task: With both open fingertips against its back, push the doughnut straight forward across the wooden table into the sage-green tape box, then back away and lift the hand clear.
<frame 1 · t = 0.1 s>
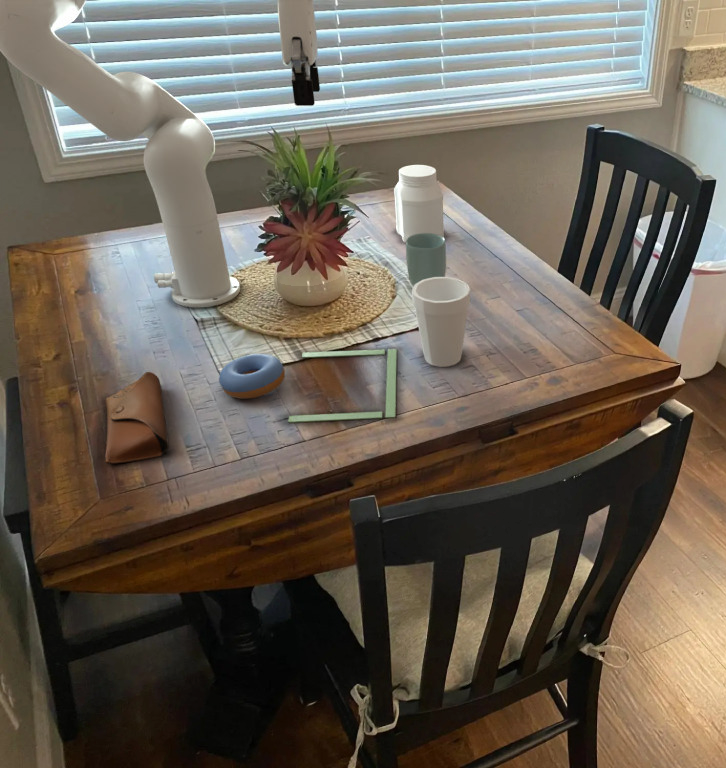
hand: (307, 98, 129), 37 cm above the table, tool pointing down, fingers open, 9 cm apart
sunglasses case: (136, 426, 112), on the table
foam cup: (443, 357, 130), on the table
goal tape: (340, 383, 122), on the table
cup: (427, 287, 152), on the table
jar: (420, 235, 174), on the table
doughnut: (254, 388, 121), on the table
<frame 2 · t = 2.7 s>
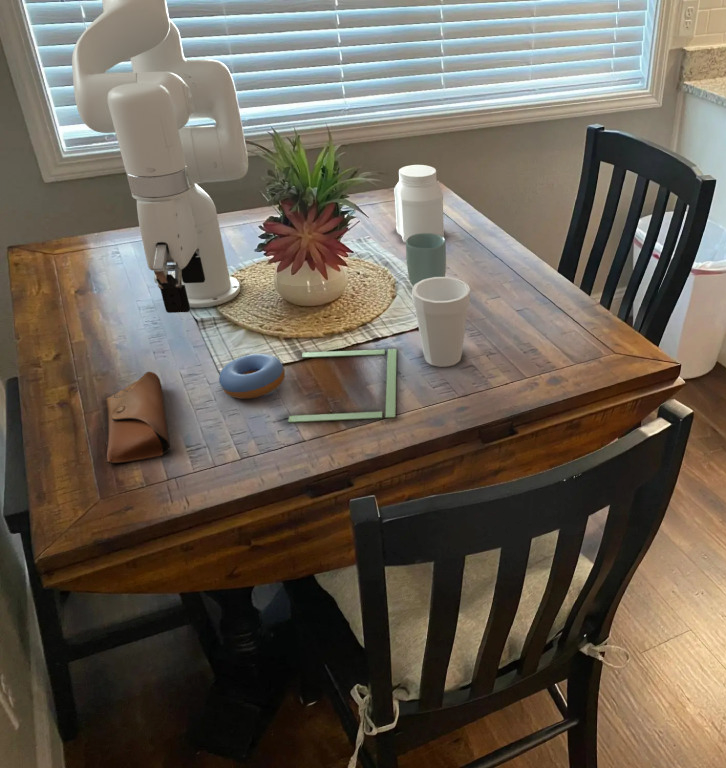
hand: (186, 296, 111), 17 cm above the table, tool pointing down, fingers open, 9 cm apart
nothing on the table moved.
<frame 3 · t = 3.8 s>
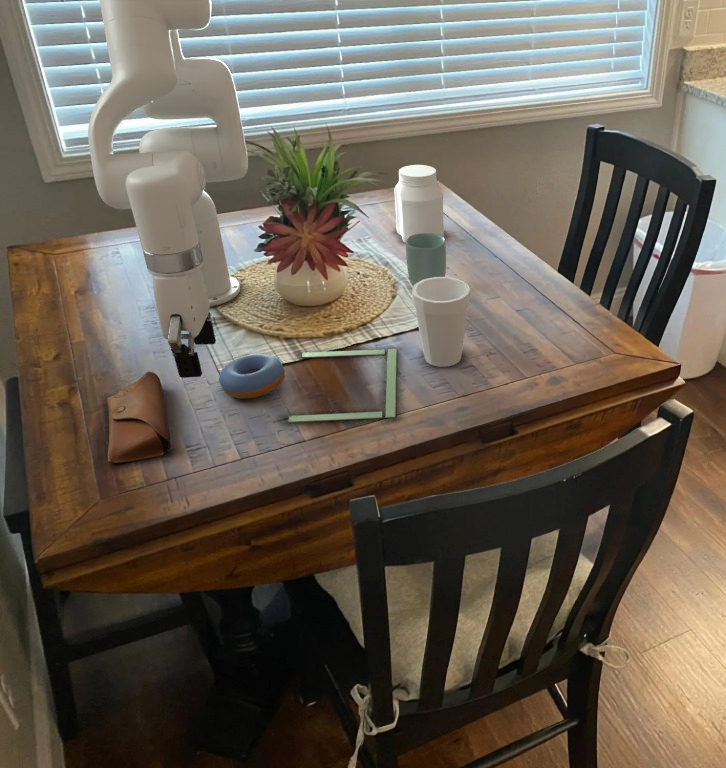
hand: (198, 359, 116), 6 cm above the table, tool pointing down, fingers open, 9 cm apart
nothing on the table moved.
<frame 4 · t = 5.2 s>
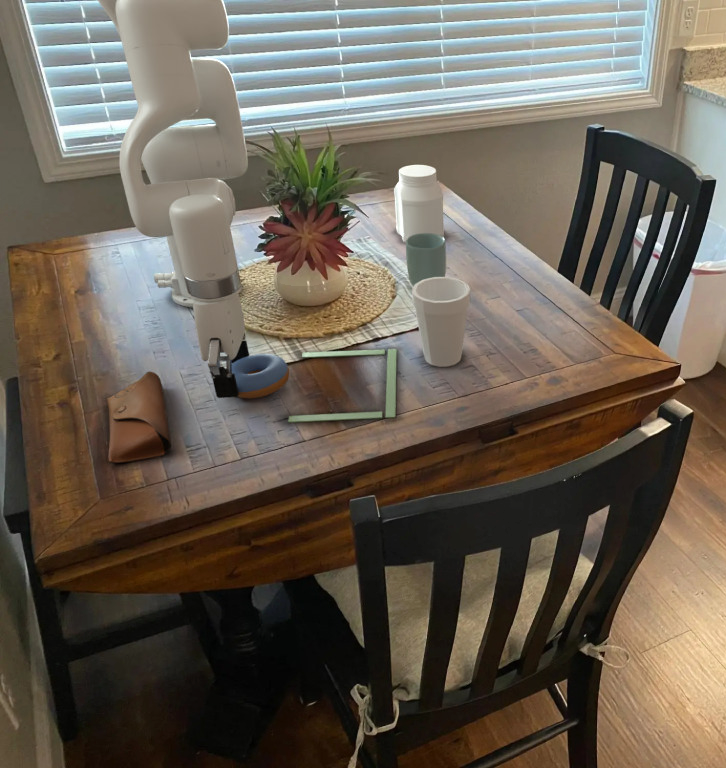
hand: (234, 378, 119), 2 cm above the table, tool pointing down
doughnut: (259, 388, 121), on the table, touching gripper
everything else where it was.
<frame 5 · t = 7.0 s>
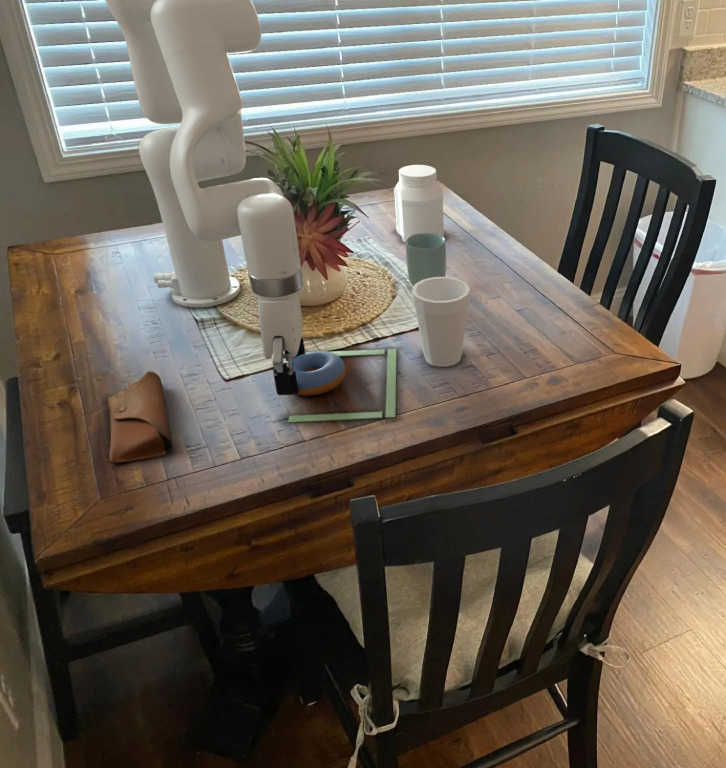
hand: (292, 376, 121), 2 cm above the table, tool pointing down
doughnut: (316, 385, 122), on the table, touching gripper
everything else where it was.
when the fingers open (2 cm above the table, at t = 8.8 s): doughnut stays where it is, on the table.
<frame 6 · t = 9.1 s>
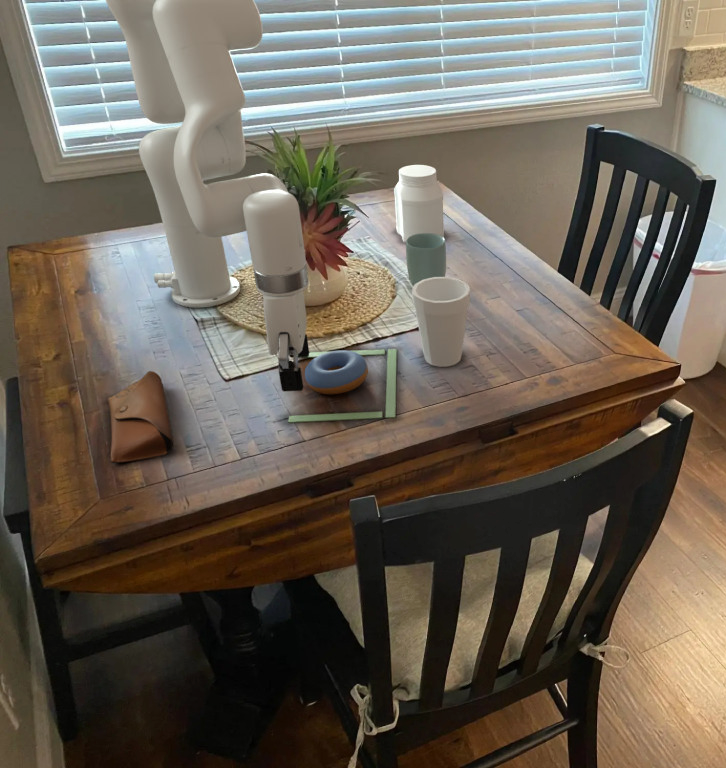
hand: (296, 372, 121), 2 cm above the table, tool pointing down, fingers open, 9 cm apart
doughnut: (338, 384, 122), on the table
everything else where it was.
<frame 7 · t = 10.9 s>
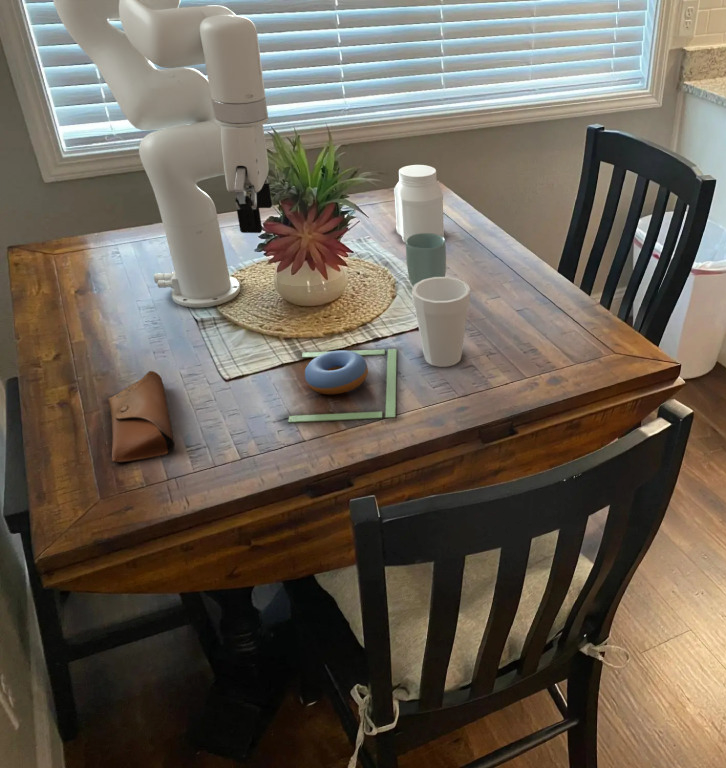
hand: (256, 219, 120), 23 cm above the table, tool pointing down, fingers open, 9 cm apart
nothing on the table moved.
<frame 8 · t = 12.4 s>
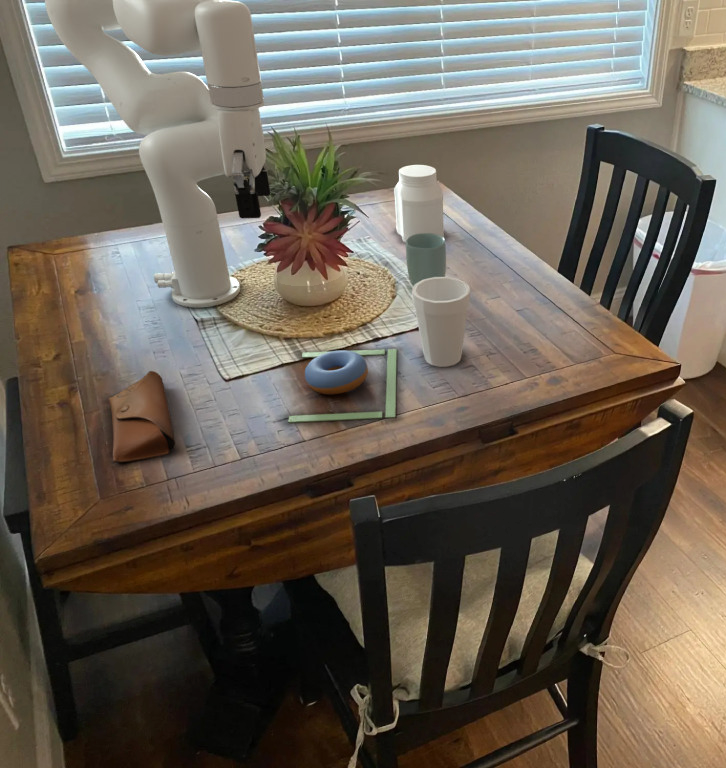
hand: (255, 206, 121), 24 cm above the table, tool pointing down, fingers open, 9 cm apart
nothing on the table moved.
at the end: doughnut inside the target area (0.9 cm from its centre), on the table; doughnut moved 13.2 cm from its start; doughnut tilted 0° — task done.
